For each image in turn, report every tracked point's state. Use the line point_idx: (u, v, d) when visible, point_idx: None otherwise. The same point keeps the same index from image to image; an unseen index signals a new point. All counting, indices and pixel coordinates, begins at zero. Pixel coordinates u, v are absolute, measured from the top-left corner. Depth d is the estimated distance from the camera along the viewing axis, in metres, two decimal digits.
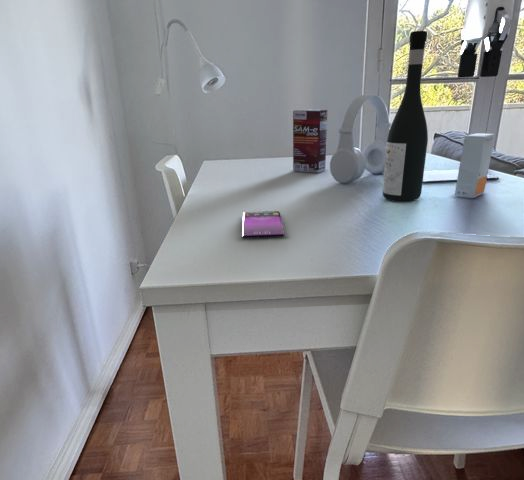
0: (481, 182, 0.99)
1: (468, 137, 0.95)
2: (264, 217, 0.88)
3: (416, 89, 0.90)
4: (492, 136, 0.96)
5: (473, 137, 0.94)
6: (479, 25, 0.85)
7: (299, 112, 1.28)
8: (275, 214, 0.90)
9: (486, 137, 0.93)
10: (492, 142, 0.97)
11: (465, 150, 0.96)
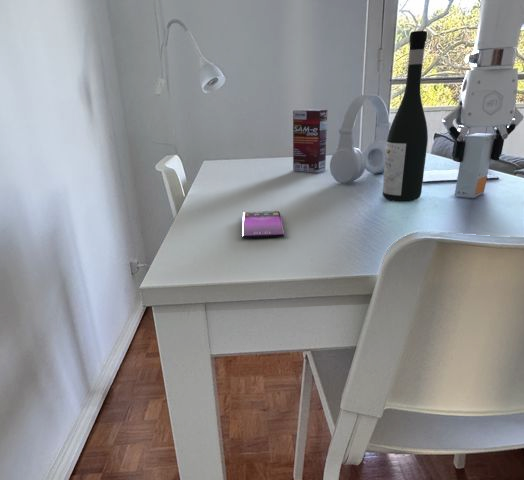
0: (481, 182, 0.99)
1: (468, 137, 0.95)
2: (264, 217, 0.88)
3: (416, 89, 0.90)
4: (492, 136, 0.96)
5: (473, 137, 0.94)
6: None
7: (299, 112, 1.28)
8: (275, 214, 0.90)
9: (486, 137, 0.93)
10: (492, 142, 0.97)
11: (465, 150, 0.96)
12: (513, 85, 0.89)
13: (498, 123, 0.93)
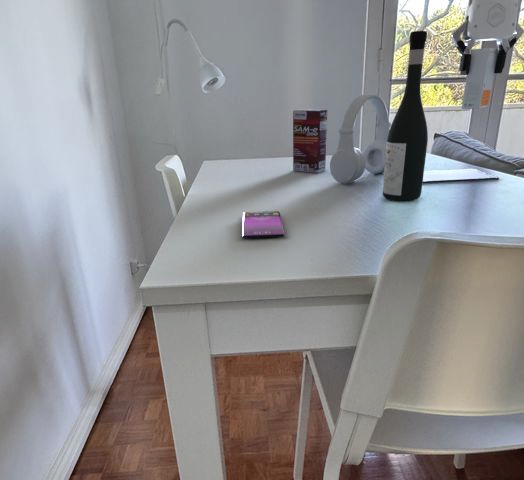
0: (486, 95, 1.09)
1: (474, 50, 1.05)
2: (264, 217, 0.88)
3: (416, 89, 0.90)
4: (495, 50, 1.05)
5: (478, 49, 1.04)
6: None
7: (299, 112, 1.28)
8: (275, 214, 0.90)
9: (490, 49, 1.03)
10: (495, 56, 1.06)
11: (471, 63, 1.06)
12: None
13: (501, 35, 1.02)
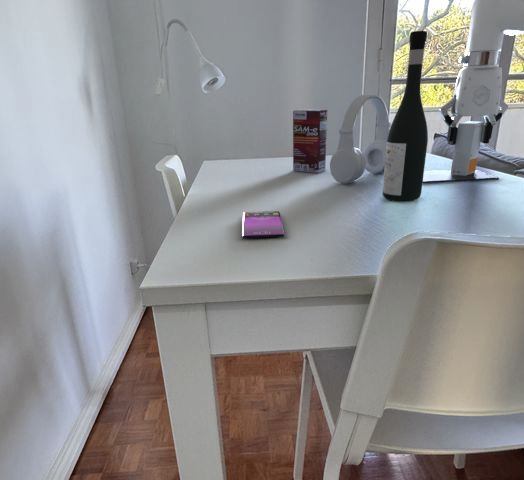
0: (473, 163, 1.18)
1: (461, 124, 1.14)
2: (264, 217, 0.88)
3: (416, 89, 0.90)
4: (481, 123, 1.15)
5: (465, 124, 1.13)
6: None
7: (299, 112, 1.28)
8: (275, 214, 0.90)
9: (476, 124, 1.13)
10: (481, 128, 1.16)
11: (459, 135, 1.15)
12: (498, 81, 1.08)
13: (486, 113, 1.12)
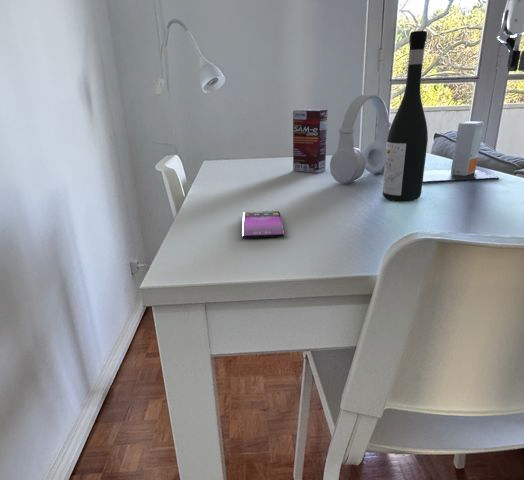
0: (473, 163, 1.18)
1: (461, 124, 1.14)
2: (264, 217, 0.88)
3: (416, 89, 0.90)
4: (481, 123, 1.15)
5: (466, 124, 1.13)
6: None
7: (299, 112, 1.28)
8: (275, 214, 0.90)
9: (476, 124, 1.13)
10: (481, 128, 1.16)
11: (459, 135, 1.15)
12: None
13: None
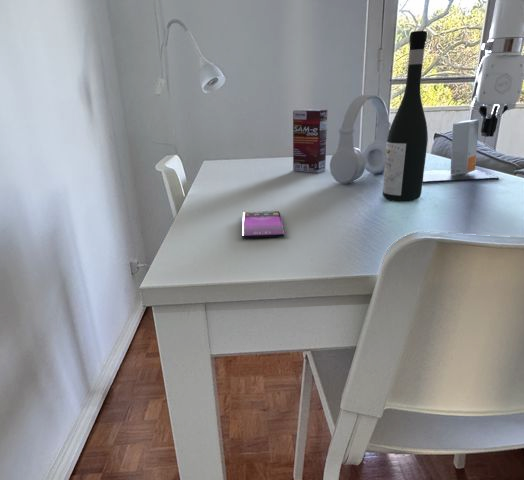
0: (472, 160, 1.18)
1: (456, 124, 1.14)
2: (264, 217, 0.88)
3: (416, 89, 0.90)
4: (476, 121, 1.15)
5: (460, 123, 1.14)
6: None
7: (299, 112, 1.28)
8: (275, 214, 0.90)
9: (471, 122, 1.13)
10: (477, 126, 1.16)
11: (455, 135, 1.16)
12: (520, 69, 1.08)
13: (508, 101, 1.11)
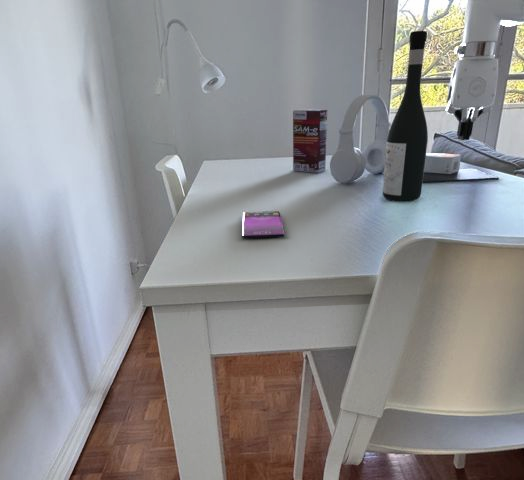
0: (447, 155, 1.22)
1: None
2: (264, 217, 0.88)
3: (416, 89, 0.90)
4: None
5: None
6: None
7: (299, 112, 1.28)
8: (275, 214, 0.90)
9: None
10: None
11: None
12: (494, 72, 1.08)
13: (482, 105, 1.11)
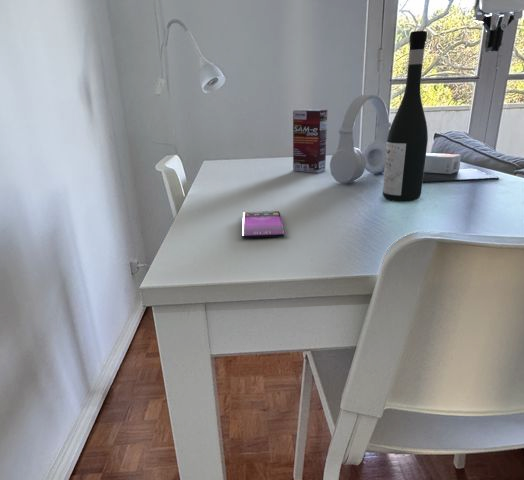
0: (447, 155, 1.22)
1: None
2: (264, 217, 0.88)
3: (416, 89, 0.90)
4: None
5: None
6: None
7: (299, 112, 1.28)
8: (275, 214, 0.90)
9: None
10: None
11: None
12: None
13: (514, 8, 1.02)
